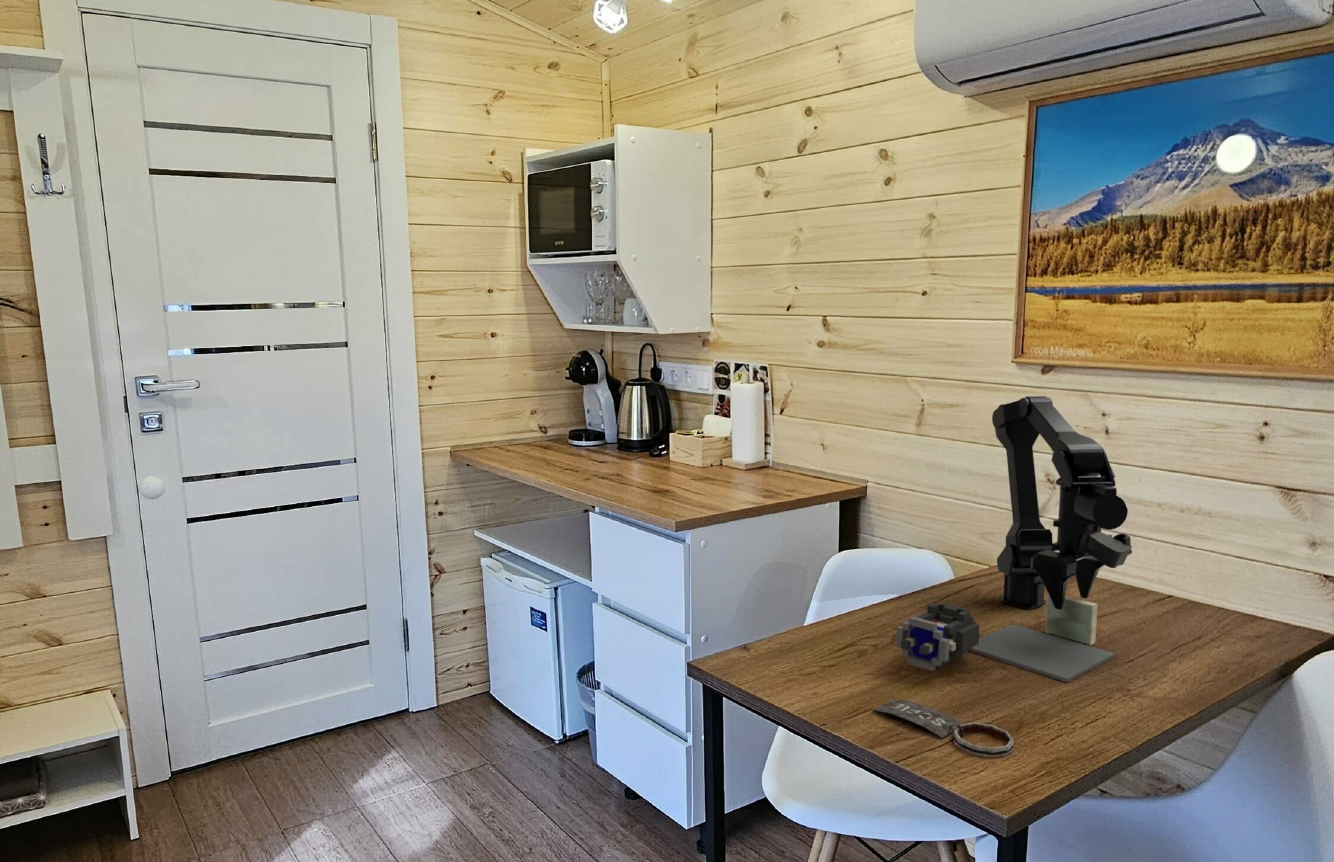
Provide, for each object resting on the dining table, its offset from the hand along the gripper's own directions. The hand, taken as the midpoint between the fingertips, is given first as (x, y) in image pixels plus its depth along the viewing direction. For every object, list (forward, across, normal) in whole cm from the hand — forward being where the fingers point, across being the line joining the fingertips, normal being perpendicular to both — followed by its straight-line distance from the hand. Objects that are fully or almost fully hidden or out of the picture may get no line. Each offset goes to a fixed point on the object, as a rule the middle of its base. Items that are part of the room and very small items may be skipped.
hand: (1071, 603), depth 153 cm
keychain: (+7, -47, -6) cm, 48 cm away
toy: (+6, -28, +8) cm, 30 cm away
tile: (+6, 0, 0) cm, 6 cm away
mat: (+6, -11, 0) cm, 13 cm away
